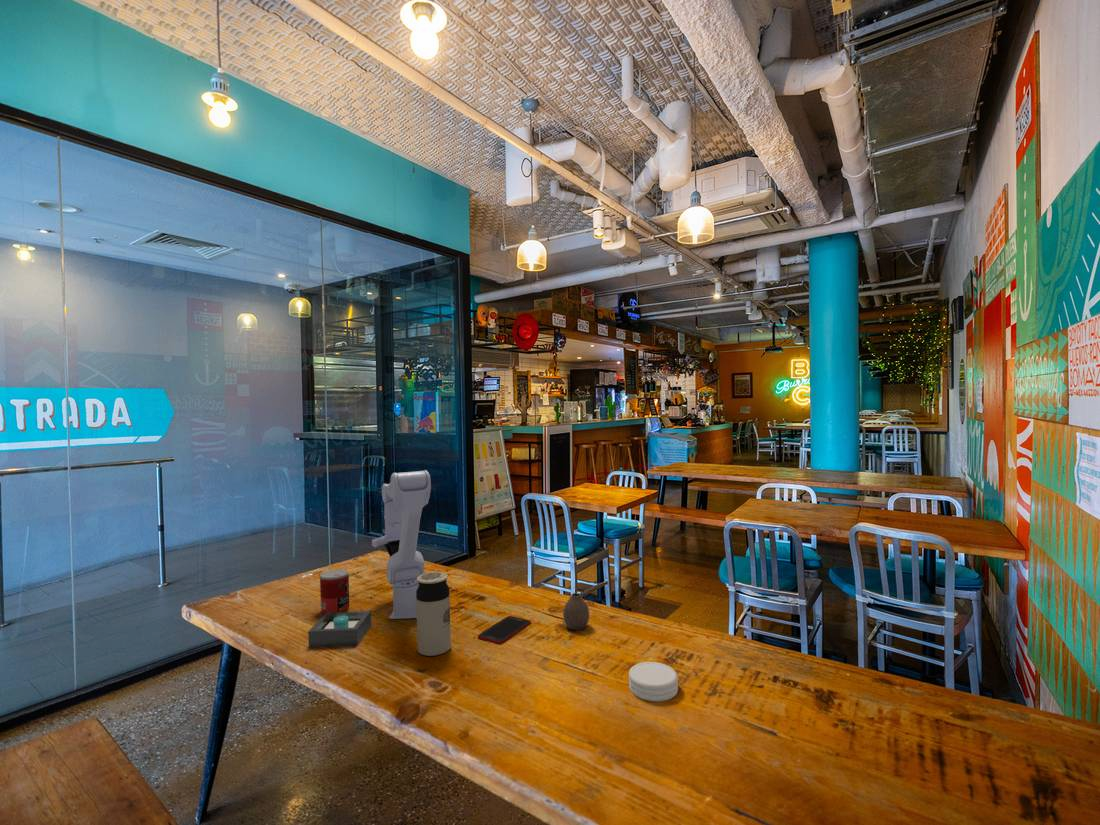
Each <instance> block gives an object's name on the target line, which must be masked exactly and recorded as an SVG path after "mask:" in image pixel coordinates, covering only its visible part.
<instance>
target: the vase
mask: <svg viewBox="0 0 1100 825" xmlns="http://www.w3.org/2000/svg"><path fill="white" fill-rule="evenodd" d="M589 609H590V608H589V607H588V603H587V602H586V601H585V600H584V599H583V597H582V596H581V594H580V593H578V592H574V593H572V594H571V595H570V597H569V599H567V601H566V603H565V605H564V608H563V611H562V612H563V613H562V615H563V616H562V617H563V621H564V623H565V625H566V627H567V628H568V629H569V630H572V631H581V630H584V629H585V628H586V627H587V625H588V623H589V620H590V610H589Z"/></svg>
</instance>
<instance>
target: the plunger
mask: <svg viewBox="0 0 1100 825" xmlns="http://www.w3.org/2000/svg"><path fill="white" fill-rule="evenodd" d="M358 621H359V620H356V621H348V616H338V617H336V618H334V621H332V622H330V623H329V624H328V625H327V626H326V627H325V628H324V629H335V628H354V626H355V625H356V624H357V623H358Z"/></svg>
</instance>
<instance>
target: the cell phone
mask: <svg viewBox="0 0 1100 825" xmlns="http://www.w3.org/2000/svg"><path fill="white" fill-rule="evenodd" d="M531 624H532V621H531V620H530V619H525V618H522V617H517V616H512V615H508V616H506V617H504V618H502V619H501V620H500V621H498V622H497V623H495V624H493V625H492V626H490V627H489V628H486V629H485V630H484V631H482V632H481V633H480V634H478V635H477V639H478V640H481V641H483V642H489V643H493V644H496V645H503V644H505V643H506V642H507V641H509V640H510V639H511V638H512V637H513V638H514V637H515V636H516V635H517V634H518V633H520V631H523V630H524V629H526V628H527V627H528V626H530V625H531Z"/></svg>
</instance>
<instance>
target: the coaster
mask: <svg viewBox="0 0 1100 825" xmlns="http://www.w3.org/2000/svg"><path fill="white" fill-rule="evenodd" d="M678 676H679V675H678V673H677V672H676V670H674V668H672V667H671V666H669V665H668V664H665V663H661V662H658V661H657V662H656V661H643V662H639V663H637V664H634V665H633V666H632V667H630V669H629V670H628V682H629V683H628V686H629V689H630V692H631V693H632V694H633V695H635V696H636V697H638V698H640V699H642V700H644V701H649V702H664V701H668V700H671V699H673V698H674V697H675V696H676V695H677V694H678V691H679V687H678V685H679V681H678V678H679V677H678Z"/></svg>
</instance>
